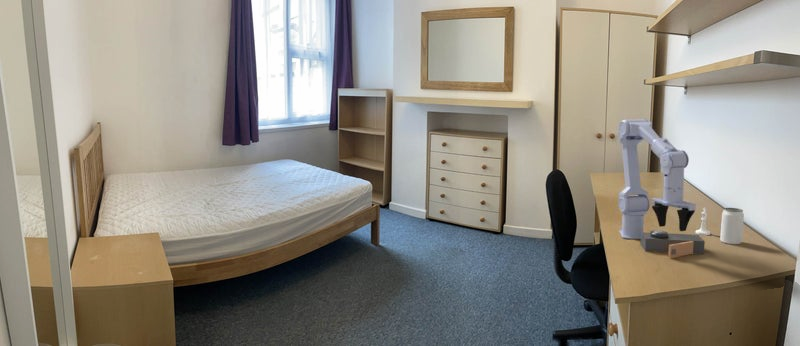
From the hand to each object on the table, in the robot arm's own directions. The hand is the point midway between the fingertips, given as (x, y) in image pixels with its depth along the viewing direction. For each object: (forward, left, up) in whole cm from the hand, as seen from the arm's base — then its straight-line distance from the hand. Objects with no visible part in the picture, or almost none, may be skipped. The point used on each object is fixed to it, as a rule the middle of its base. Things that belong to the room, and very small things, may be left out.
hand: (672, 228), depth 164 cm
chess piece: (-29, +18, -10) cm, 36 cm away
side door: (0, +3, -9) cm, 10 cm away
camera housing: (-8, +2, -10) cm, 12 cm away
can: (-19, +24, -10) cm, 32 cm away
